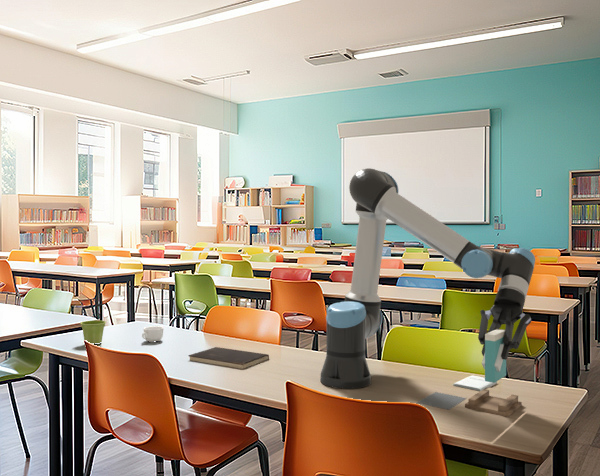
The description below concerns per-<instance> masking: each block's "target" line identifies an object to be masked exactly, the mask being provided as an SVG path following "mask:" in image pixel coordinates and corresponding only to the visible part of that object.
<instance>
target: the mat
mask: <svg viewBox="0 0 600 476" xmlns="http://www.w3.org/2000/svg"><path fill="white" fill-rule="evenodd" d="M465 400H468V399H467V397H462V396H458V395H453V394H448V393H443V392H438V391H435V392H433V393H431V394H429V395H427V396H426V397H423V398H422V399H420V400H419V401H417V402H416V404H422V405H426V406H430V407H435V408H439V409H443V410H451V409H453V408H454V407H456V406H457V405H459V404H460V403H462V402H464V401H465Z"/></svg>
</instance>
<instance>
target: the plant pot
mask: <svg viewBox="0 0 600 476" xmlns="http://www.w3.org/2000/svg"><path fill="white" fill-rule="evenodd" d="M106 323H107V321H105V320H99V319H96V320H85V321H81V322H80V326H81V328H82V333H83V340H87V341H88V342H90V343H94V344H95V343H100V342H102V341H103V335H104V328H105V325H106Z"/></svg>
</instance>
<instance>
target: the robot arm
mask: <svg viewBox="0 0 600 476" xmlns="http://www.w3.org/2000/svg"><path fill="white" fill-rule="evenodd" d="M348 186H349V187H348V189H349V193H350V194H349V195H350V197H351V199H352V200H353V201H354V202H355V203H356V204H355V213H356V214H357V215H358V217H359V219H358V220H359V221H358V227H357V228H358V229H357V234H356V235H357V236H356V243H355V251H354V253H355V254H354V258H353V259H354V260H353V269H352V274H351V275H352V276H351V285H350V290H349V291H348V292H347V293H346V294H345V295H344V296H345V297H344V301H340V302H335V303H332V304H330V305H329V306H328V307H327V310H326V317H325V318H326V319H325V320H326V357H325V358H324V359H325V360H324V362H323V365H322V368H321V371H320V377H319V378H320V383H321V384H323V385H325V386H327V387H330V388H336V389H347V390H348V389H352V390H353V389H359V388H361V389H362V388H364V387H368V386H369V385H371V381H372V379H371V378H372V374H371V372H370V369H369V365H368V361H367V359H366V340H367V339H368V338H370V337H372V336H374V335H375V334H376V333H377V332H378V331H379V329H380V328H381V326H382V323H383V313H382V310H381V303H382V299H381V297H380V296H379V294H378V290H379V282H380V281H379V279H380V273H381V265H382V259H383V250H384V242H385V234H386V227H387V221H388V220H390V221H391V222H393V223H394V224H396V226H398V227H400V228H401V229H403V230H404V231H406V232H407V233H408V234H409V235H412V236H413V237H414V238H416V239H417V240H419V241H421V242H422V243H424V245H426V246H428V247H429V248H431V249H432V250H434V251H435V252H437V253H438V254H439V255H441V256H443V257H444V258H446V259H447V260H449V261H450V262H451V263H453V264H454V265H455V266H457V268H458V267H459V268H460V269H461V270H462V271H463V272H464V274H466V275H467V276H469V277H470V278H474V279H482V278H484V277H486V276H490V277H494V278H498V279H500V282H499V285H498V288H497V291H496V295H495V298H494V302H493V305H492V307H490V309H489V310H484V309H481V310H480V313H479V314H480V315H481V318H480V324H479V329H478V337H477V338H478V342H479V344H480V345H483V346H482V349H481V355H482V361H481V366H482V368H483V370H485V334H487V333H489V332H491V331H493V330H496V329H501V327H502V325H505V329H504V330H505V337H504V341H503V342H504V345H503V344H500V347H499V351H498V354H497V358H496V361H495V365H494V366H495V368H496V370H497V371H498V372H500V369H501V366H502V362H503V359H505V360H506V361H507V360H508V357H509V353H510V350H512V349H514V350H518V348H519V347H520V344H521V342H522V340H523V337H524V335H525V332H526V330H527V328H528V326H529V325H530V324H531V323H532V318H531V315H530V314H529V313H526V314H525V313H524V312H523V310H524V307H525V306H524V305H525V302H526V298H527V295H528V291H529V287H530V284H531V281H532V276H533V274H534V273H533V272H534V270H535V264H536V257H535V255H534V253H533V251H531V250H529V249H527V248H524V247H518V248H517V247H515V248H512V249H510V251H509V253H508V252H503V251H502V252H501V251H499V250H496V249H495V250H494V249H491V248H487V247H482V246H480V245H476V244H475V243H473V242H471V241H470V240H468V238H465V237H464V236H463V235H462V234H459V233H458V232H457V231H455V230H454V229H452V228H451V227H449V226H448V225H446V224H444V223H443V222H441V221H440V220H438V219H437V218H435V217H434V216H432V215H431V214H429V213H428V212H426V211H424V210H423V209H422V208H420V207H419V206H417V205H416V204H414V203H412V202H411V201H409V200H408V199H407V198H405V197H404V196H403V195H401V194H399V185H398V182H397V181H396V180H395V179H394V177H393V176H392V175H390V174H389V173H388V172H385V171H381V170H377V169H375V168H372V167H371V168H369V167H368V168H362V169H361V170H359V171H357V172H356V173H355V174H354V175H353V176H352V177H351V178H350V182H349V185H348ZM490 317H492V323H491V324H490V327H489V320H490ZM519 320H520V321H519ZM516 322H519V323H518V325H517V328H516V330H515V332H514V334H513V331H514V326H515V325H514V324H515V323H516ZM488 327H489V329H488Z"/></svg>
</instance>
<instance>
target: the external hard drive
mask: <svg viewBox="0 0 600 476" xmlns="http://www.w3.org/2000/svg"><path fill="white" fill-rule="evenodd" d="M497 383H498V381H497V382H495V383H493V382H487V381H485V376H484V377H483V376H479V375H473V374H472V375H470V376H469V375H468V376H467V377H465V378H463V379H461V380H460V379H459V380H458V381H456V382H454V383H453V384H452V385H453V387H458V388H464V389H467V390H473V391H477V392H480V391H481V390H483V389H485V390H486V389H487V388H491V387H493V386H494V385H496V384H497Z"/></svg>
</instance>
